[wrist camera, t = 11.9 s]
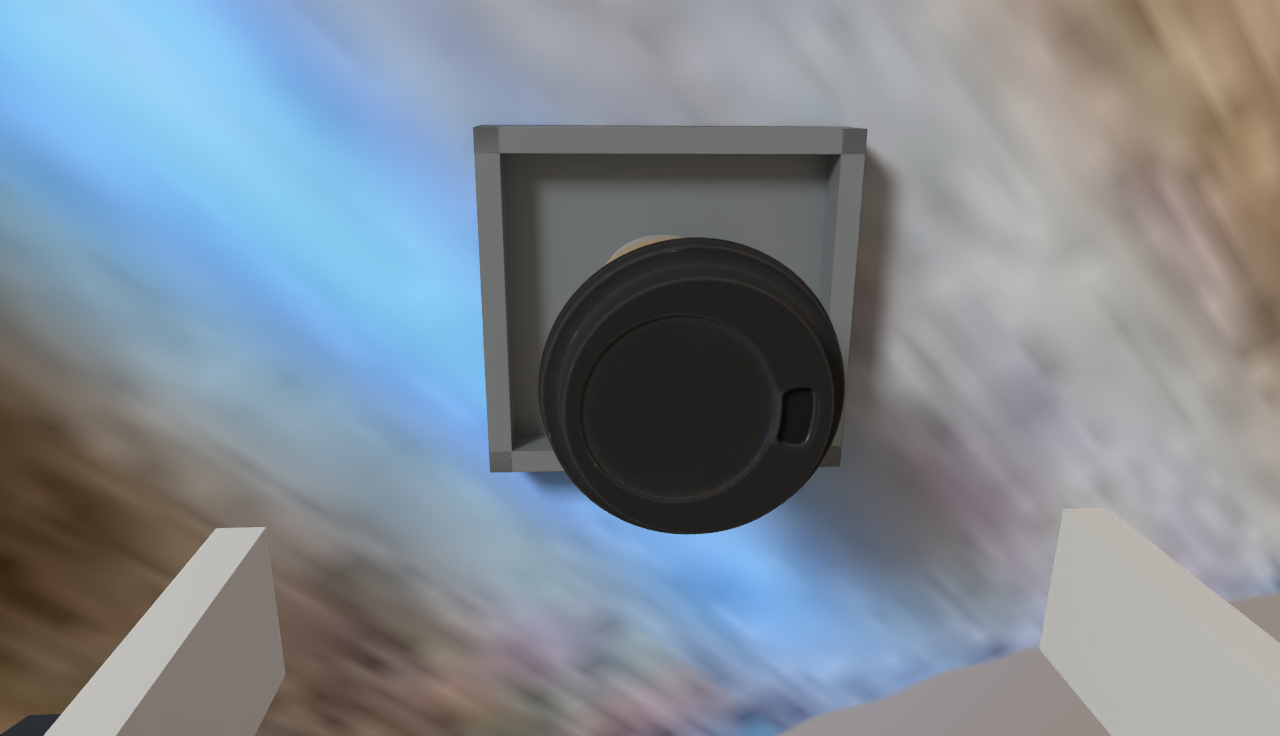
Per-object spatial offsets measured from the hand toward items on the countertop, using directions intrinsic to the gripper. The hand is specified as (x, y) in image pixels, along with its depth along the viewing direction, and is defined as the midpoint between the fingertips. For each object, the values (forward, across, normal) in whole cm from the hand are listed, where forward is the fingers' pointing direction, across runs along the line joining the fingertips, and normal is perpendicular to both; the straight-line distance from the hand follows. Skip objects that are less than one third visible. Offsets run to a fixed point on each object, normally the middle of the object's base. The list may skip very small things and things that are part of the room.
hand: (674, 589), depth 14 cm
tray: (+27, +2, -1) cm, 27 cm away
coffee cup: (+26, +2, -1) cm, 26 cm away
